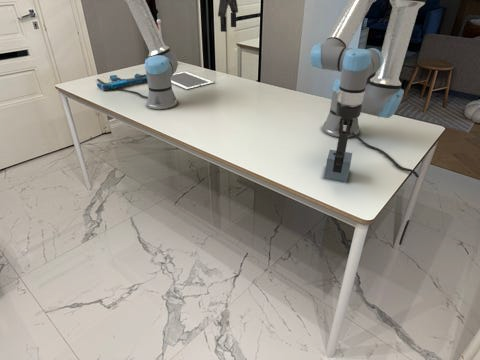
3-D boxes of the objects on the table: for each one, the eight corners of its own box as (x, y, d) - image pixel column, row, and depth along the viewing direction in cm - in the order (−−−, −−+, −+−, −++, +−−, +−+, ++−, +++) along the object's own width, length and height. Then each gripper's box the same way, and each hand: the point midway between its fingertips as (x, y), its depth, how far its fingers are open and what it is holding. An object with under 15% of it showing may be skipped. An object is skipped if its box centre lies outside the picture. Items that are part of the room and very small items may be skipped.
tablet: (159, 77, 217) (158, 76, 217) (185, 71, 228) (185, 71, 228) (186, 89, 197) (186, 89, 197) (214, 82, 208) (214, 82, 208)
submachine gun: (141, 68, 225) (159, 74, 208) (142, 74, 227) (160, 80, 210) (89, 78, 206) (104, 86, 190) (91, 84, 208) (106, 92, 192)
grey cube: (348, 171, 121) (352, 152, 117) (346, 182, 115) (350, 162, 111) (326, 168, 123) (329, 149, 119) (324, 178, 118) (327, 158, 113)
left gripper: (229, -22, 167) (230, 24, 179) (209, -20, 147) (211, 33, 159) (244, -22, 165) (244, 25, 177) (225, -19, 145) (226, 34, 157)
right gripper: (341, 88, 115) (332, 144, 127) (332, 116, 96) (322, 178, 108) (364, 91, 113) (353, 147, 125) (359, 119, 94) (347, 183, 106)
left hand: (228, 29), depth 168 cm, fingers open, 13 cm apart
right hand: (339, 161), depth 116 cm, fingers open, 13 cm apart
